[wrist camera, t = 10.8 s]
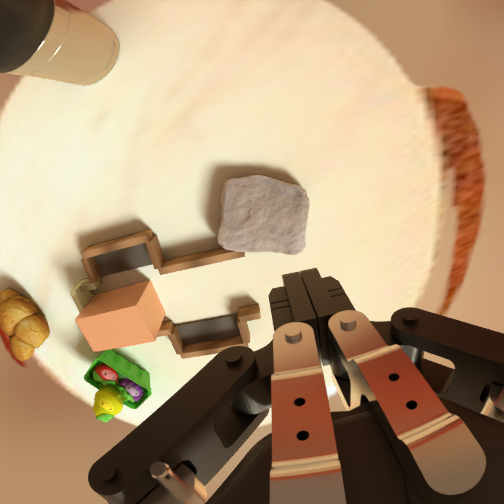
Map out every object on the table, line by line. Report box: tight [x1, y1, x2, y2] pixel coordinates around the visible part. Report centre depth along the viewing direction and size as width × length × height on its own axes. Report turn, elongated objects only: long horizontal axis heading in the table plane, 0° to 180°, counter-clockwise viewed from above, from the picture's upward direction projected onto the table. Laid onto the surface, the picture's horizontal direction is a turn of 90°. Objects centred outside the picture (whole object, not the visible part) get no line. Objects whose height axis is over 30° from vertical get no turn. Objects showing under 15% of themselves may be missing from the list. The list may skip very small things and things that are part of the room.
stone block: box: [217, 175, 309, 255], centre depth 41 cm, size 12×5×10 cm
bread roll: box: [0, 289, 50, 361], centre depth 44 cm, size 13×10×8 cm
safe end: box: [70, 280, 93, 312], centre depth 45 cm, size 1×11×4 cm, turn 13°
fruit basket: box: [84, 349, 152, 422], centre depth 47 cm, size 11×9×11 cm
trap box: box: [79, 229, 261, 359], centre depth 45 cm, size 26×21×2 cm
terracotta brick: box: [75, 280, 165, 352], centre depth 44 cm, size 11×6×8 cm, turn 106°
